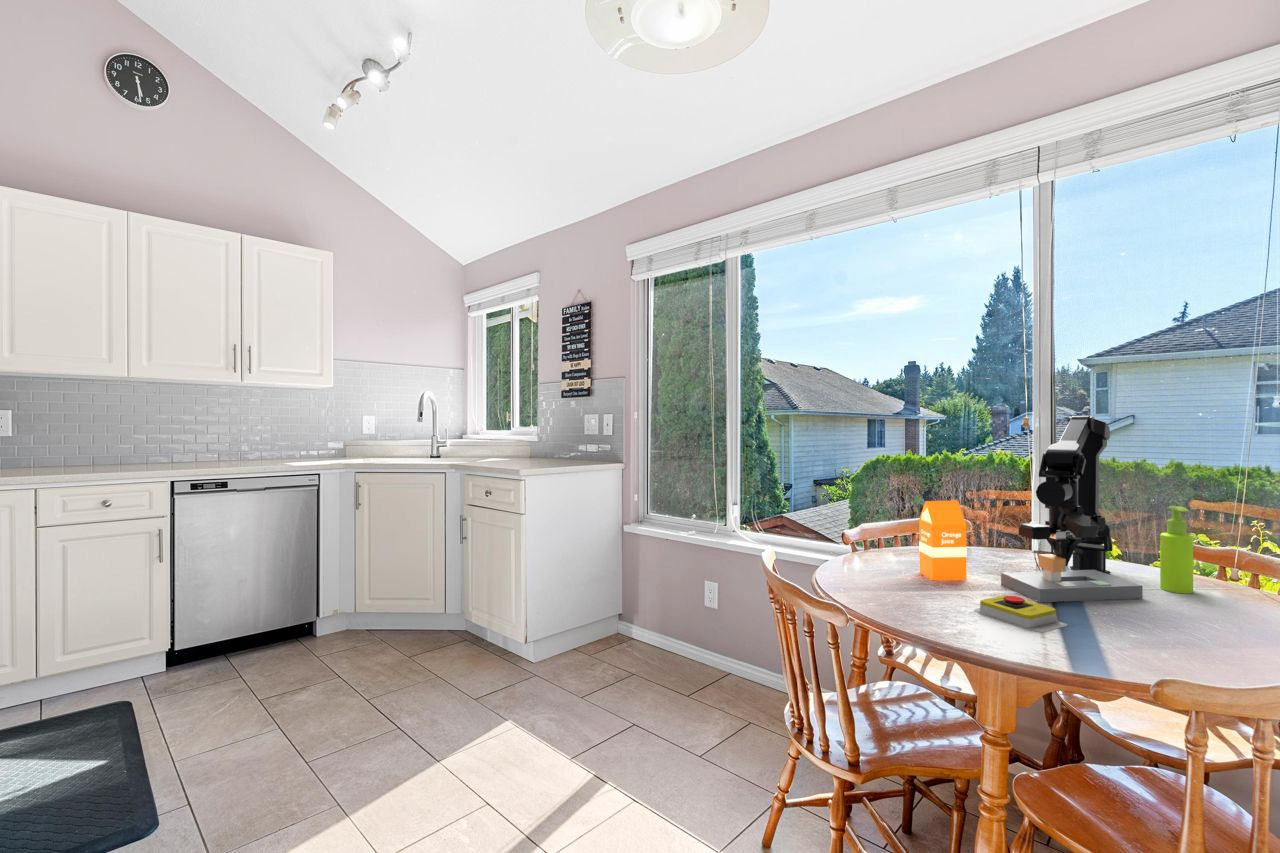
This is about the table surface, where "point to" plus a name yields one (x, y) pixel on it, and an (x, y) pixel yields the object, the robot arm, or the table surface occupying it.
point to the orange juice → (942, 541)
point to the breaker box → (1071, 586)
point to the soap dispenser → (1176, 555)
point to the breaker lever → (1051, 566)
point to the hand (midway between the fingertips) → (1064, 566)
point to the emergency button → (1020, 613)
